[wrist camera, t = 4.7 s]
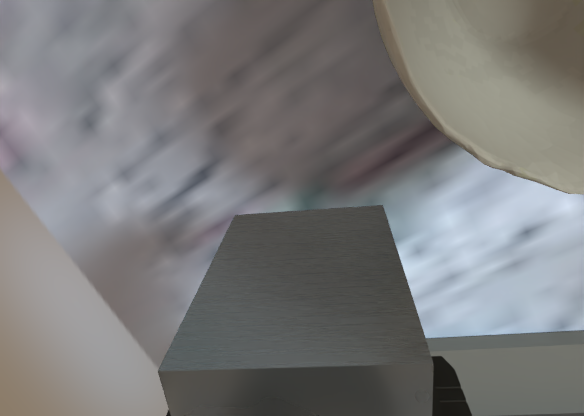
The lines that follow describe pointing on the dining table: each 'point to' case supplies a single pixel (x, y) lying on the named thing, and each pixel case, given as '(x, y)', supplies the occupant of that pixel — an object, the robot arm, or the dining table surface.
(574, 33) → the teacup
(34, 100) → the dining table surface
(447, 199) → the dining table surface
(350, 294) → the grey arch block
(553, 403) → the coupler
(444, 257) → the dining table surface
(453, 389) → the robot arm
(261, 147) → the dining table surface
